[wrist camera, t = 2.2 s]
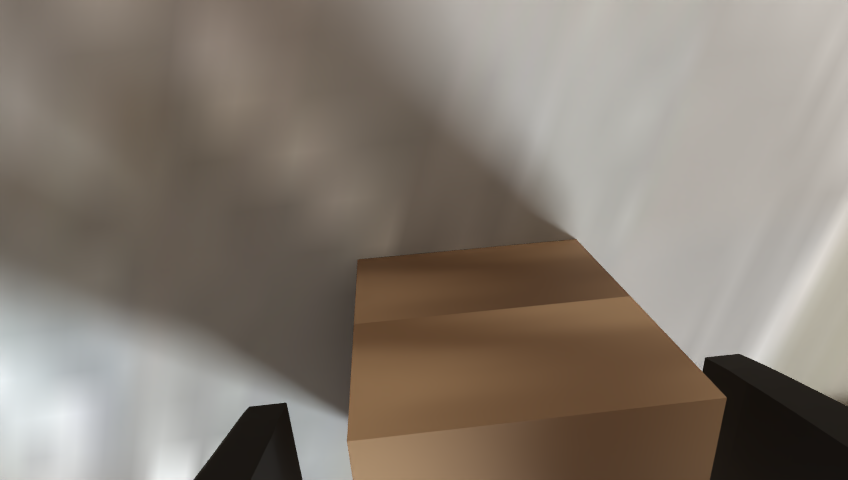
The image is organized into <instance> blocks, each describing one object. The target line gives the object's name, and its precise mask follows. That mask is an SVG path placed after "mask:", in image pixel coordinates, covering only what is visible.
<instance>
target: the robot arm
mask: <svg viewBox="0 0 848 480" xmlns="http://www.w3.org/2000/svg"><path fill="white" fill-rule="evenodd" d="M703 373H704V374H705V375H706V376H707V377H708V378H709V379H710V380H711V381H712V383H713V384H714V385H715V386H716V387H717V388H718V389H719V390H720V391H721V392H722V393H723V394H724V395H725V396H726V397H727V400H726V404H725V409H724V414H723V419H722V424H721V428H720V433H719V438H718V443H717V447H716V452H715V457H714V462H713V466H712V471H711V476H710V480H848V407H847V406H845V405H843V404H842V403H840V402H838V401H836V400H834V399H832V398H830V397H828V396H826V395H824V394H822V393H820V392H818V391H816V390H814V389H812V388H810V387H808V386H806V385H804V384H802V383H800V382H798V381H796V380H794V379H792V378H790V377H788V376H786V375H784V374H782V373H780V372H778V371H776V370H774V369H771V368H769V367H767V366H765V365H763V364H761V363H759V362H757V361H754V360H752V359H750V358H747V357H745V356H743V355H740V354H734V355H724V356H715V357H706V358H705V361H704V367H703ZM194 480H302V476H301V471H300V466H299V461H298V456H297V451H296V447H295V442H294V437H293V432H292V427H291V422H290V418H289V413H288V408H287V403H279V404H270V405H261V406H252V407H249V408H248V409H247V410H246V411H245V412H244V413H243V415H242V416H241V417H240V419H239V420H238V421H237V422H236V424H235V425H234V427H233V428H232V429H231V431H230V432H229V433H228V435H227V436H226V437H225V439H224V440H223V441H222V443H221V444H220V445H219V447H218V448H217V449H216V451H215V452H214V454H213V455H212V456H211V457H210V459H209V460H208V461H207V463H206V464H205V465H204V467H203V468H202V469H201V471H200V472H199V473H198V475H197V476H196V477H195V479H194Z"/></svg>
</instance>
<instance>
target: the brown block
mask: <svg viewBox="0 0 848 480" xmlns="http://www.w3.org/2000/svg"><path fill="white" fill-rule="evenodd" d="M726 400H727V397H726V396H725V395H724V394H723V393H722V392H721V391H720V390H719V389H718V388H717V387H716V386H715V385H714V384H713V383H712V381H711V380H710V379H709V378H708V377H707V376H706V375H705V374H704V373H703V372H702V371H701V370H700V369H699V368H698V367H697V366H696V365H695V364H694V363H693V362H692V360H691V359H690V358H689V357H688V356H687V355H686V354H685V353H684V352H683V351H682V350H681V349H680V348H679V347H678V346H677V345H676V344H675V343H674V342H673V341H672V339H671V338H670V337H669V336H668V335H667V334H666V333H665V332H664V331H663V330H662V329H661V328H660V327H659V326H658V325H657V324H656V323H655V322H654V321H653V320H652V318H651V317H650V316H649V315H648V314H647V313H646V312H645V311H644V310H643V309H642V308H641V307H640V306H639V305H638V304H637V303H636V302H635V301H634V300H633V299H632V297H631V296H630V295H629V294H628V293H627V292H626V291H625V290H624V289H623V288H622V287H621V286H620V285H619V284H618V283H617V282H616V281H615V280H614V279H613V277H612V276H611V275H610V274H609V273H608V272H607V271H606V270H605V269H604V268H603V267H602V266H601V265H600V264H599V263H598V262H597V261H596V260H595V259H594V258H593V256H592V255H591V254H590V253H589V252H588V251H587V250H586V249H585V248H584V247H583V246H582V245H581V244H580V243H579V242H578V241H577V240H576V239H572V240H561V241H551V242H540V243H529V244H518V245H508V246H497V247H486V248H475V249H465V250H454V251H443V252H433V253H422V254H411V255H400V256H390V257H379V258H368V259H358V262H357V280H356V297H355V314H354V331H353V349H352V366H351V383H350V400H349V417H348V435H347V444H348V451H349V457H350V464H351V470H352V477H353V480H710V476H711V471H712V466H713V462H714V457H715V452H716V447H717V443H718V438H719V433H720V428H721V424H722V419H723V414H724V409H725V404H726Z"/></svg>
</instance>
